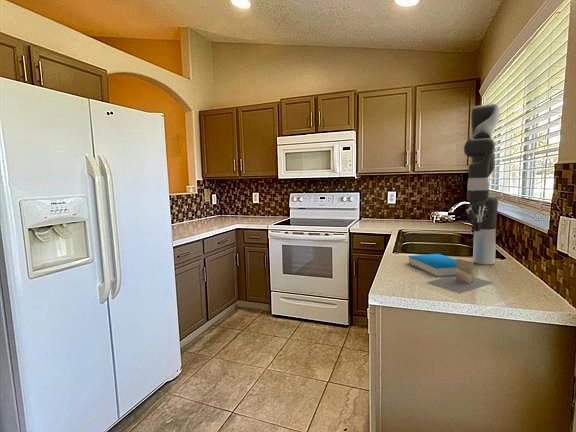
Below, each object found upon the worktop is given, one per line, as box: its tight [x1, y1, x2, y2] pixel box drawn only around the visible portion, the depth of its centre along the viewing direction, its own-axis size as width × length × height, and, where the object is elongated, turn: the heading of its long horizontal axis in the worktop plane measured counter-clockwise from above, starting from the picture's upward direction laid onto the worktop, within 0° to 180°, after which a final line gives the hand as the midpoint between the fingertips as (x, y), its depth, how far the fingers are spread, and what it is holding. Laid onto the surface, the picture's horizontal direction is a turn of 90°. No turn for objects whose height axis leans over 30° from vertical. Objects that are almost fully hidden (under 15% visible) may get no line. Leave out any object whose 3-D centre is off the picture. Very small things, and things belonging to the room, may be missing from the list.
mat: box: [425, 275, 495, 295], centre depth 133 cm, size 22×15×1 cm
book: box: [408, 253, 457, 278], centre depth 154 cm, size 17×4×25 cm
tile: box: [456, 257, 475, 284], centre depth 133 cm, size 2×6×9 cm, turn 28°
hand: (476, 231), depth 135 cm, fingers closed
